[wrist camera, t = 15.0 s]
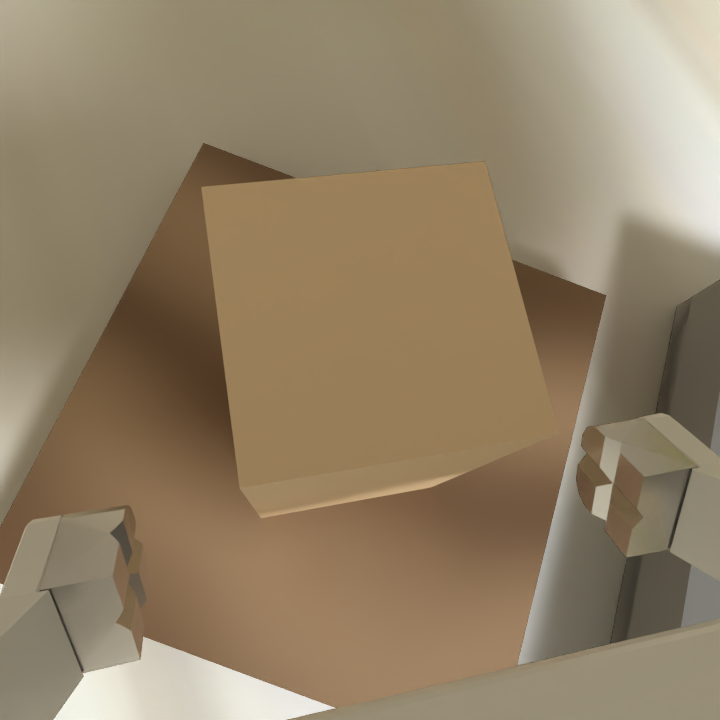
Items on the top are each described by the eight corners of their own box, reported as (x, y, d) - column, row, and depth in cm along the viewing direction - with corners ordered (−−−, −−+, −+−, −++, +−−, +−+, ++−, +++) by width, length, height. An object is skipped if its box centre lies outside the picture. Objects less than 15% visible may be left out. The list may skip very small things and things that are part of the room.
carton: (237, 344, 17) (199, 176, 9) (396, 323, 18) (482, 151, 10) (260, 518, 16) (239, 488, 8) (431, 487, 16) (559, 433, 9)
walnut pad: (209, 172, 20) (203, 143, 19) (583, 313, 20) (606, 295, 19) (3, 571, 16) (-25, 574, 14) (474, 746, 16) (492, 765, 15)
